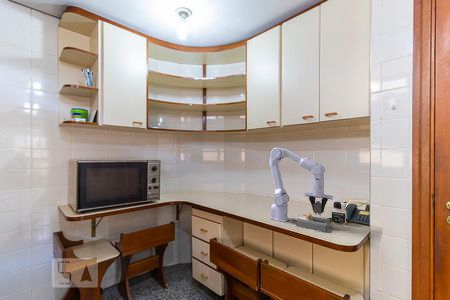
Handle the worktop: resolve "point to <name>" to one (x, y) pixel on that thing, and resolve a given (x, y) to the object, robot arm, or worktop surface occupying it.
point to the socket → (315, 223)
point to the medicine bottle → (339, 213)
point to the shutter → (304, 217)
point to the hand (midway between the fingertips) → (318, 210)
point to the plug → (318, 208)
